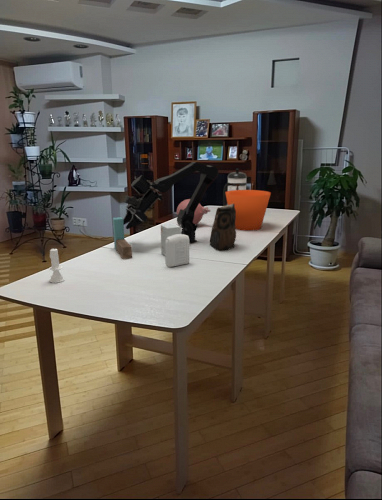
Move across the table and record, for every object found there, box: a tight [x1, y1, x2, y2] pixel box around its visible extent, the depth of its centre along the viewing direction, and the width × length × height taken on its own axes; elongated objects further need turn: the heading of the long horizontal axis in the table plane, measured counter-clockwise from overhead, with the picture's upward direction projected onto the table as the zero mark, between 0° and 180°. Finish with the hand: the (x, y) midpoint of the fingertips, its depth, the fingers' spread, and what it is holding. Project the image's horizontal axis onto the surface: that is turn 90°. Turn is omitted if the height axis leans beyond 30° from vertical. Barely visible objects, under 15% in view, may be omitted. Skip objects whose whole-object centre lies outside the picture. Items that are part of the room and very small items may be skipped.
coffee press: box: [222, 168, 248, 206], centre depth 254 cm, size 17×16×30 cm
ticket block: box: [115, 238, 133, 260], centre depth 168 cm, size 4×14×5 cm, turn 22°
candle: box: [48, 248, 66, 284], centre depth 136 cm, size 5×5×12 cm
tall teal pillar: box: [112, 216, 125, 250], centre depth 175 cm, size 4×4×14 cm
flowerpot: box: [225, 189, 272, 232], centre depth 216 cm, size 25×25×20 cm
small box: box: [160, 223, 182, 256], centre depth 165 cm, size 8×6×13 cm
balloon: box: [176, 198, 211, 226], centre depth 221 cm, size 15×20×15 cm
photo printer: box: [164, 234, 190, 268], centre depth 153 cm, size 10×4×12 cm, turn 123°
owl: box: [209, 204, 237, 252], centre depth 175 cm, size 13×13×20 cm
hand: (124, 226), depth 175 cm, fingers open, 9 cm apart
